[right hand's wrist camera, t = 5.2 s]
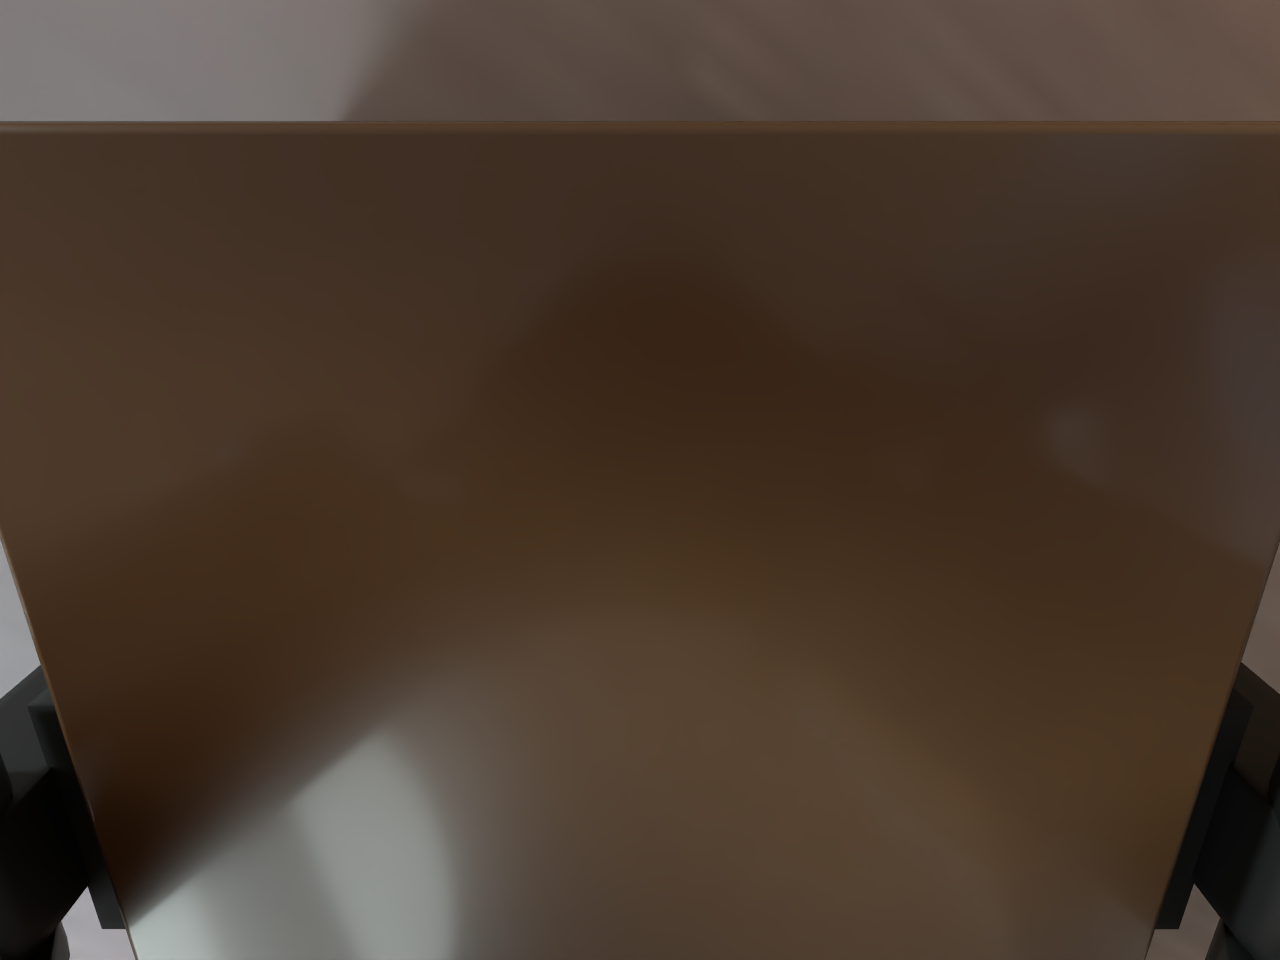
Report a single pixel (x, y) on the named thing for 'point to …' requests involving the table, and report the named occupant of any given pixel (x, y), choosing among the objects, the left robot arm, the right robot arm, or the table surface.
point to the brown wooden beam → (640, 524)
